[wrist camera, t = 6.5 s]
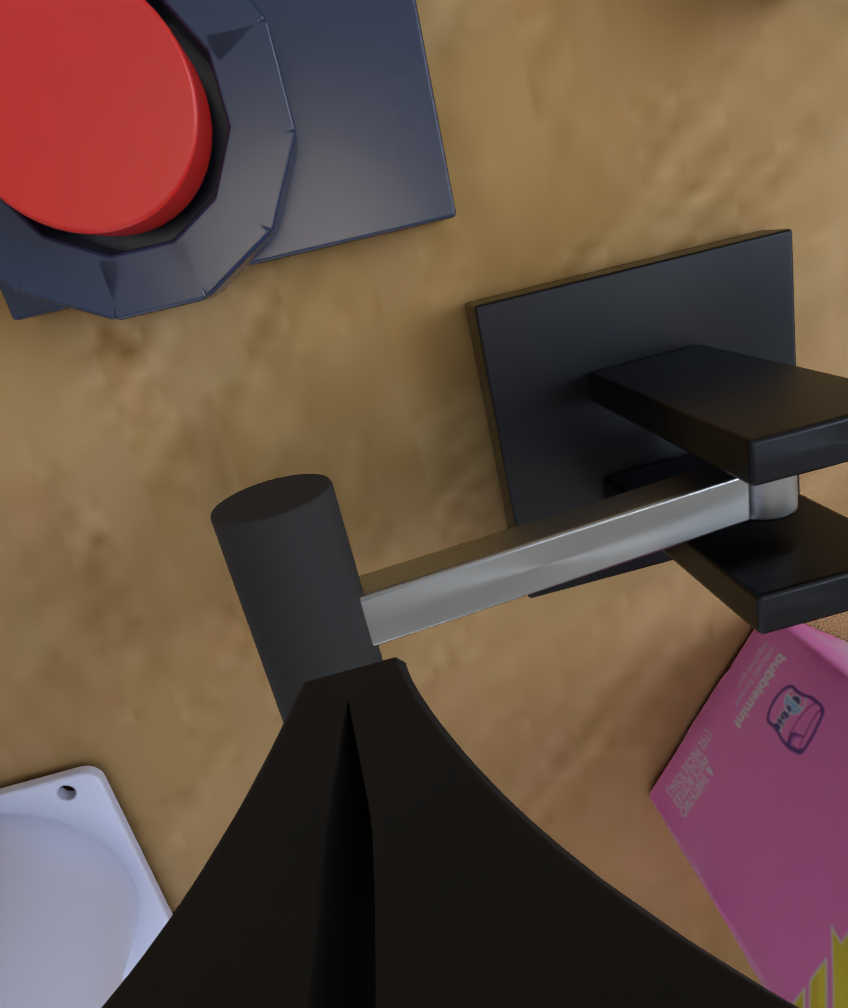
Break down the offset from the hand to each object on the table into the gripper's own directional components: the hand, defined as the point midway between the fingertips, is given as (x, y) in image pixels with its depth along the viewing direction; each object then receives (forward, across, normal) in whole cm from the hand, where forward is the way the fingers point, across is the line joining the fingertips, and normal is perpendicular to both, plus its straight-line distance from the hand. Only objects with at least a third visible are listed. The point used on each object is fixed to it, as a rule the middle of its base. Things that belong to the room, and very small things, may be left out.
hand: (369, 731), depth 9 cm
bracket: (+10, -8, 0) cm, 13 cm away
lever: (+5, -3, 0) cm, 6 cm away
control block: (+10, +1, -9) cm, 14 cm away
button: (+8, +2, -9) cm, 12 cm away
